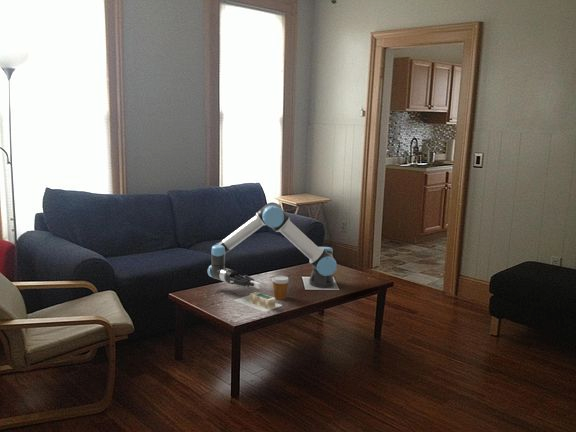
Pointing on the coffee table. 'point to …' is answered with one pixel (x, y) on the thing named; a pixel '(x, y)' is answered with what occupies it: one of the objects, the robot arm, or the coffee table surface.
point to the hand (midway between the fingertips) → (259, 285)
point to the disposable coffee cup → (280, 287)
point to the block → (262, 300)
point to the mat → (246, 301)
